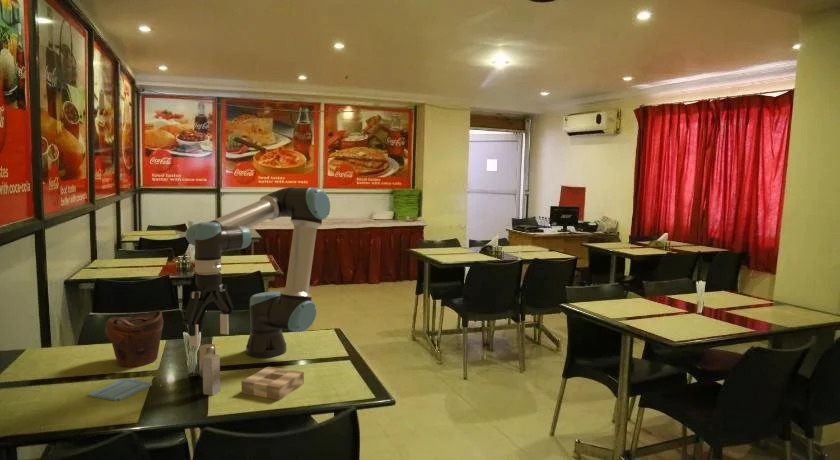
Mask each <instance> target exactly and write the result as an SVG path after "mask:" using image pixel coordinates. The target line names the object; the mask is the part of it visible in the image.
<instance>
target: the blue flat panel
mask: <svg viewBox="0 0 840 460" xmlns="http://www.w3.org/2000/svg"><path fill="white" fill-rule="evenodd" d="M151 386H153V383H152V382H148V381H143V380H135V379H130V378H129V379H128V378H121V379H119V380H118V379H117V380H116V381H114V382H112V383H109V384H107V385H104V386H103V387H100V388H99V389H96V390H93V391H92V392H89V393H87V397H91V398H95V399H97V398H98V399H104V400H110V401H114V402H117V401H123V400H124V399H126V398H129V397H130V396H133V395H135V394H137V393H139V392H140V391H143V390H145V389H148V388H149V387H151Z"/></svg>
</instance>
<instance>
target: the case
mask: <svg viewBox="0 0 840 460" xmlns="http://www.w3.org/2000/svg"><path fill="white" fill-rule="evenodd" d="M163 327H164V317H163V313H162V311H161V310H157V309H156V310H153V311H150V312H147V313H142V314H139V315H134V316H118V317H110V318H108V319H107V321H106V325H105V328H104V333H105V335H106V337H107V339H109V340H110V342H111V344H112V349H113V353H114V355H115V356H114V357H115V358H116V363H117V365H118V366H120V367H126V368H127V367H128V368H129V367H139V366H146V365H149V364H151V363H154V362H156V360H157V359H158V356H159V350H160V343H161V339H162V331H163Z"/></svg>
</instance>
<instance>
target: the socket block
mask: <svg viewBox="0 0 840 460" xmlns="http://www.w3.org/2000/svg"><path fill="white" fill-rule="evenodd" d="M240 383H241V394H243V395H244V394H245V395H249V396H256V397H260V398H266V399H272V400H278V401H280V400H283V398H285V397H287V396H288V395H289V394H291V393H293V392H294V391H295V390H297V389H298V388H300V387H301V386H303V385H304V384H305V372H304V371H299V370H292V369H285V368H280V367H273V366H266V367H264V368H263V369H261V370H258V371H257V372H255V373H254V374H252V375H250V376H248V377H246V378H245V379H243V380H241V381H240Z"/></svg>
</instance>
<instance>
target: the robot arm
mask: <svg viewBox="0 0 840 460" xmlns="http://www.w3.org/2000/svg"><path fill="white" fill-rule="evenodd" d="M330 212H331V202H330V197H329V196H328V194H327V193H326V191H324V190H323V189H322V188H316V187H311V186H310V187H295V186H293V187H289V186H288V187H284V188H280V189H278V190H274V191H272V192H270V193H268V194H266V195H263V196H262V197H260V199H259V200H258V201H256V202H253V203H251V204H248V205H246V206H243V207H241V208H238V209H237V210H234V211H232V212H229V213H228V214H227V213H226V214H224V215H222V216H219V217H217V218H215V219H213V220H210V221H207V222H203V221H202V222H198V223H194V224H190V226H189V227H188V228H187V230H186V234H185V236H186V240H187V242H188V243H189V244H190V245H191V246H194V263H195V264H194V267H195V269H194V270H195V272H196V274H195V285H196V286H197V288H198V289H197V291H190V292H189V299H188V303H187V305H186V309H185V312H184V316H183V319H182V323H181V324H183V325H187V327H188V329H187V331H188V333H187V334H188V337H189V346H192V347H199V346H200V342H199V341H200V336H199V324H197V323H198V321H199V319H200V317H201V315H202V313H203V310H204V309H205V307H206V306H207V305H208V304H211V303H214V304H215V305H216V307H217V308H218V309H219V311H221V313H220V314H219V324H220V325H219V327H220V330H219V331H220V332H219V333H220V334H221V335H229V334H230V327H229V324H230V315H231V314H232V313H233V311H234V309H235V307H234V304H233V302H232V299H231V297H230V294H229V292H228V285H227V284H225V283H224V284H223V283H222V282H223V281H222V275H223V274H222V273H221V271H222V253H223V252H228V251H235V250H236V251H237V250H242V249H246V248H248V247H249V246H250V245H251V242H252V240H253V239H252V232H251V230H250V228H252V227H254V226H256V225H258V224H261V223H263V222H265V221H267V220H270V221H271V220H276V219H278V218H290V222H291V223H292V225H293V230H292V231H293V232H292V237H291V246H290V251H289V252H290V253H289V260H288V268H287V275H286V283H285V287H284V288H285V289H283V290H282V291H281V292H280V291H279V290H278V291H277V290H275V291H266V292H265V291H264V292H260V293H255V294H252V295H251V296H250V298H249V321H250V322H249V323H250V333H249V337H248V340H247V342H246V347H245V351H246V352H245V354H246V355H247V356H249V357H253V358H270V357H271V358H273V357H277V356H280V355H283V354H284V353H285V352H287V342H286V340H285V337H284V334H283V330H286V331H290V332H297V333H298V332H299V333H301V332H306V331H307V330H308V329H309V328H310V327H311V326H312V325H313V323H314V322H315V320H316V316H317V307H316V304H315V303H314V302H313V301H312V299H313V296H312V294H311V293H310V291H309V290H310V281H311V275H312V268H313V267H312V266H313V261H314V254H315V244H316V238H317V231H318V229H319V228H320V227H322V224H323V223H322V222H323V220H325V219H326V218H327V217H328V216H329V215H330Z"/></svg>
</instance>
